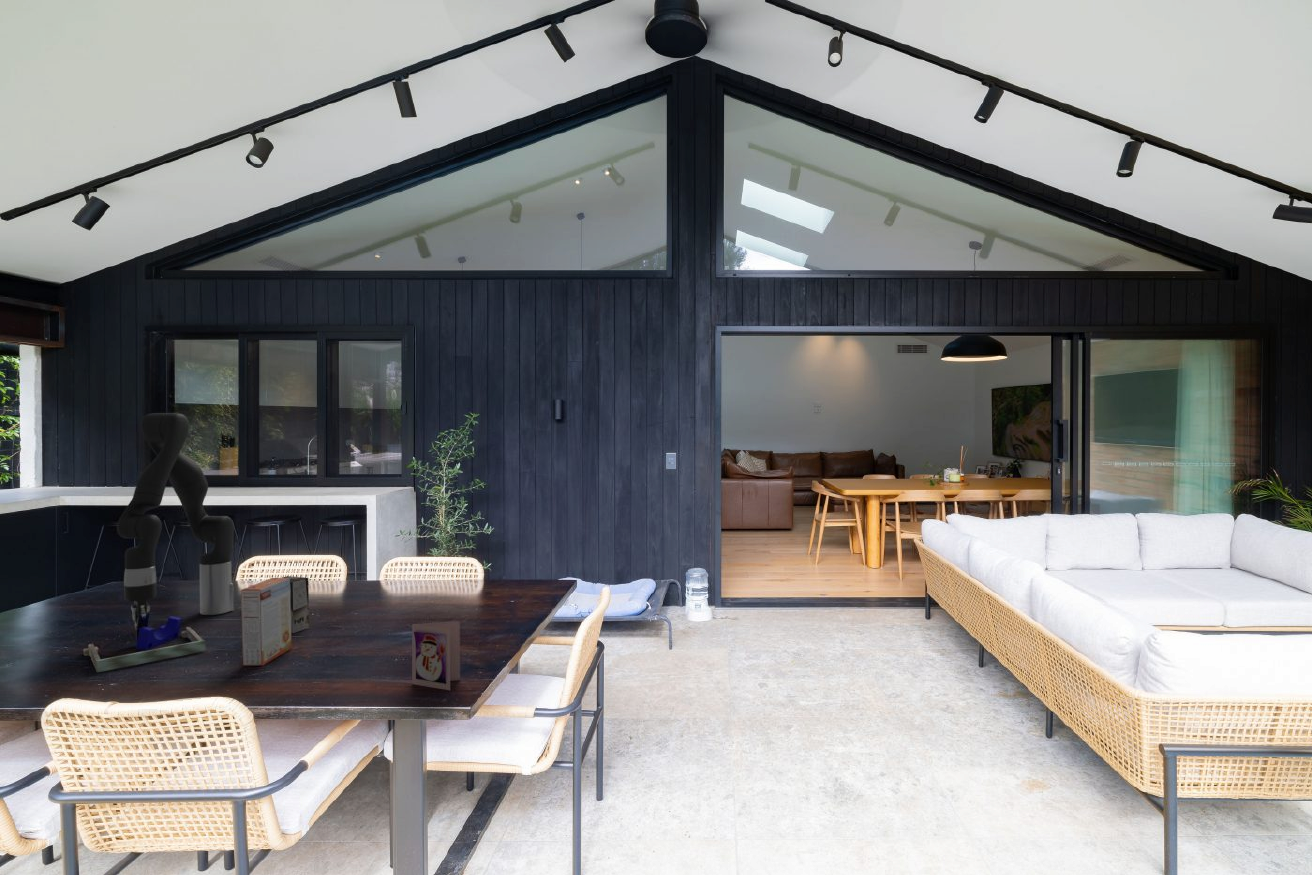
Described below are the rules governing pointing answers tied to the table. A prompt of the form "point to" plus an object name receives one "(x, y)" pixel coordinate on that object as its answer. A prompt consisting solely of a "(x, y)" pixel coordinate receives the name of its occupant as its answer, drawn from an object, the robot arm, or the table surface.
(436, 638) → the greeting card
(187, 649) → the grey-green open frame
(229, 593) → the robot arm
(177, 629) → the blue notched block
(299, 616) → the coffee box
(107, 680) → the table surface
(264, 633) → the cracker box
